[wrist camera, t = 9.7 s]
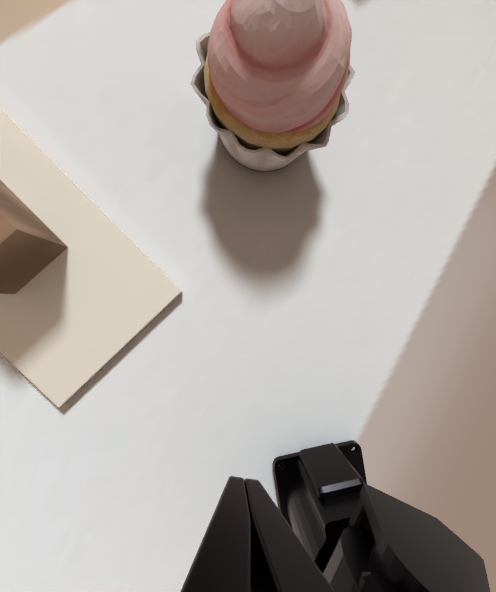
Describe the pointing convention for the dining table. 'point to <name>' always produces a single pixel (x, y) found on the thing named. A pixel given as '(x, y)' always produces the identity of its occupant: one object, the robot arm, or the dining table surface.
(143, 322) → the beige mat
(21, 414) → the dining table surface
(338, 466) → the robot arm
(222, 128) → the cupcake
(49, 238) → the walnut block
